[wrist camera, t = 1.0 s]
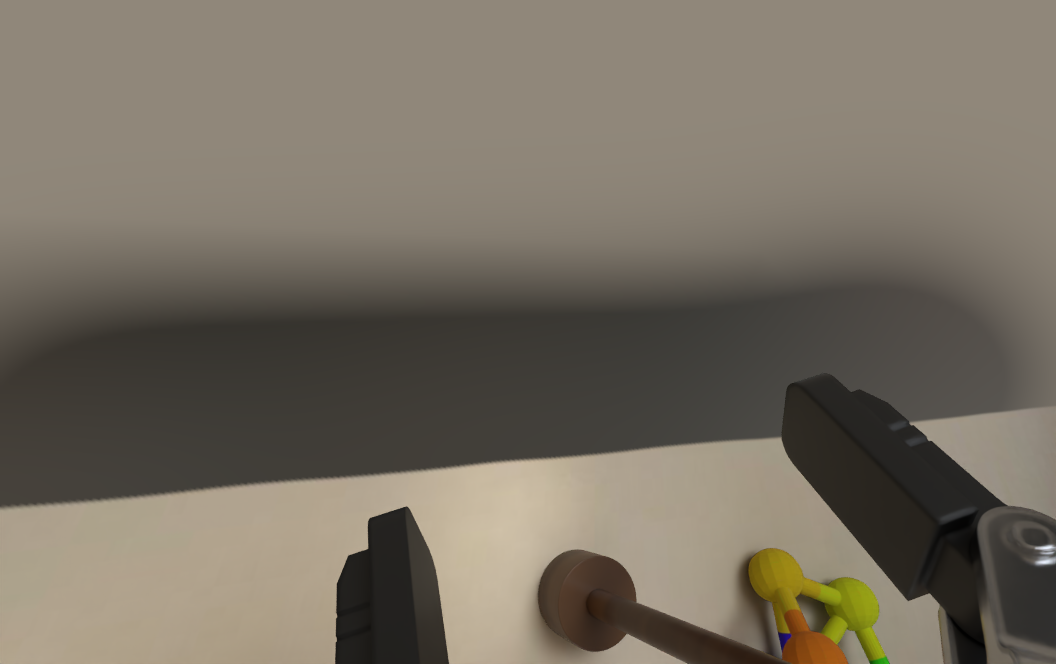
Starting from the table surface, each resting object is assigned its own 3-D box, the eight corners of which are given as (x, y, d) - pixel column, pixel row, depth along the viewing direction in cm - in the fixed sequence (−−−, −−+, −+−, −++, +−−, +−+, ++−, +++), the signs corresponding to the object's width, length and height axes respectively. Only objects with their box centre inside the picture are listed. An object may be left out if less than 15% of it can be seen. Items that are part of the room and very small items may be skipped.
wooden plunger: (525, 620, 36) (896, 863, 14) (556, 536, 37) (927, 635, 16) (595, 650, 37) (1038, 916, 15) (622, 567, 39) (1051, 698, 17)
